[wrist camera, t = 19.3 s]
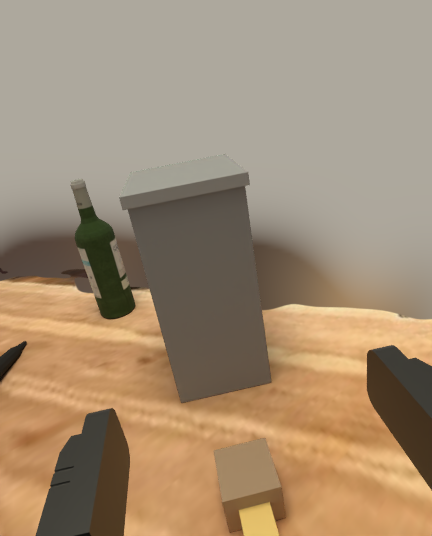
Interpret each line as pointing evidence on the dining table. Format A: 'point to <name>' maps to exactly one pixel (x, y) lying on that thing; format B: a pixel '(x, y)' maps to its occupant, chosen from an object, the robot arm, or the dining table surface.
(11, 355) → the microphone
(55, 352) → the dining table surface
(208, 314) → the stand
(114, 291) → the wine bottle
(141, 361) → the dining table surface
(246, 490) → the peg
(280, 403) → the dining table surface
